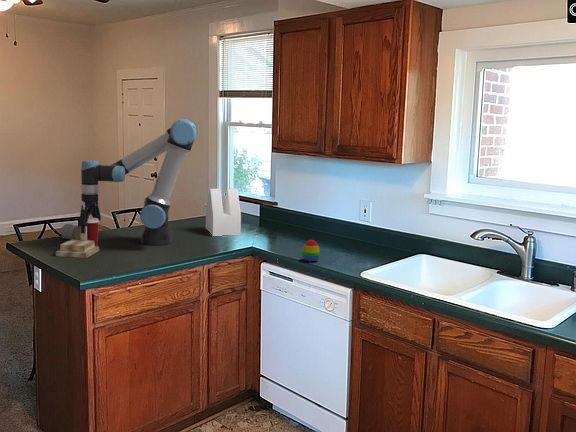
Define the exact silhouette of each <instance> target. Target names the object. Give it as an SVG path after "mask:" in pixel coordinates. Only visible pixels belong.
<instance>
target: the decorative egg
mask: <svg viewBox="0 0 576 432" xmlns="http://www.w3.org/2000/svg"><path fill="white" fill-rule="evenodd" d="M301 255H302V258H303V261H305V262H306V261H316V262H317V261H318V260H319V258H320V255H321V251H320V246H319V245H318V242H316V241H315V240H314V239H309V240H307V241H306V242H305V244H304V245H303V247H302V251H301Z"/></svg>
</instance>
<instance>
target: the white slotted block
mask: <svg viewBox="0 0 576 432" xmlns="http://www.w3.org/2000/svg"><path fill="white" fill-rule="evenodd" d="M222 197H223V196H222V189H221V188H209V191H208V197H207V202H206V208H205V230H206V229H207V230H208V231H209V232H210V233H211V234H212V235H211V234H210V233H209V234H210V235H211V237H213V236H222V235H240V236H241V229H242V228H241V227H242V225H241V224H242V211H241V205H240V204H241V203H240V197H239V191H238V188H236V187H235V188H226V190H225V196H224V200H223V198H222ZM222 237H223V236H222Z"/></svg>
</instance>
